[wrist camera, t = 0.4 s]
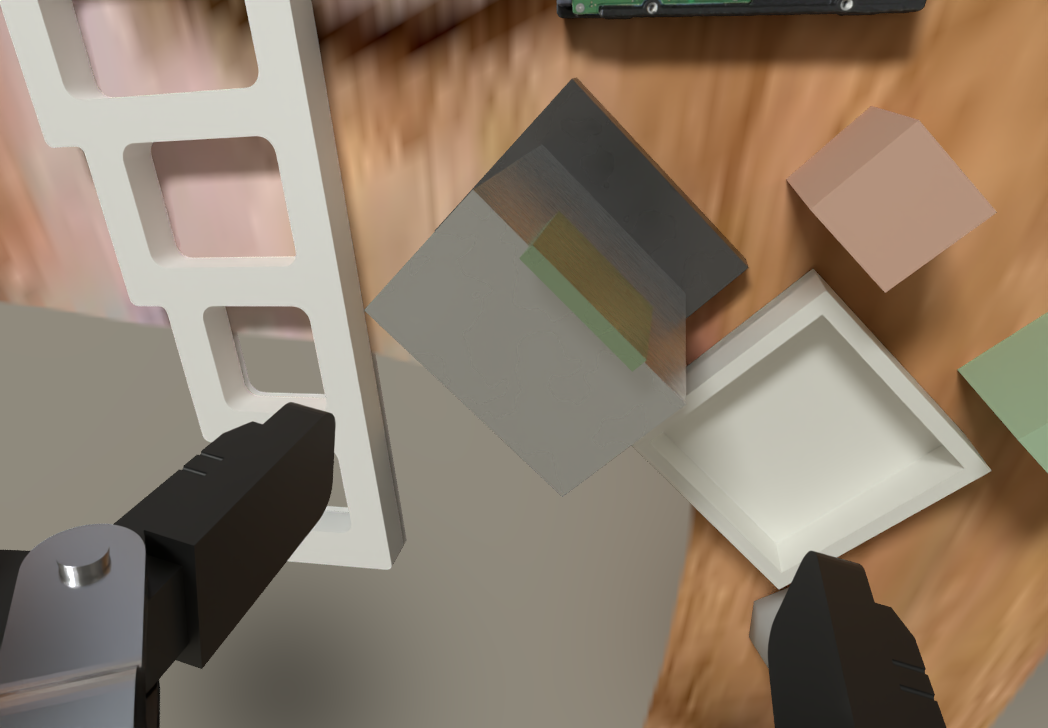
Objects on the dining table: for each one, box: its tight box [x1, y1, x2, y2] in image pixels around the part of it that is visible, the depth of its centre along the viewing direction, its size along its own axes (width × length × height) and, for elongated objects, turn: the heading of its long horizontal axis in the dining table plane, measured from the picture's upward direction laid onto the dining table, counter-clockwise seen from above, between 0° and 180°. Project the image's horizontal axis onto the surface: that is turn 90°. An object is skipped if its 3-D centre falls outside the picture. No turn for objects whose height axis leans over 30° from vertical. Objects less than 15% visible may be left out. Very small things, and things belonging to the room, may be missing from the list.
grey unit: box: [364, 78, 748, 496], centre depth 29 cm, size 10×12×15 cm
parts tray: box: [631, 269, 991, 589], centre depth 36 cm, size 12×12×4 cm
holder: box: [0, 0, 406, 570], centre depth 39 cm, size 45×18×3 cm, turn 4°
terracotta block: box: [786, 106, 997, 293], centre depth 29 cm, size 4×4×7 cm
